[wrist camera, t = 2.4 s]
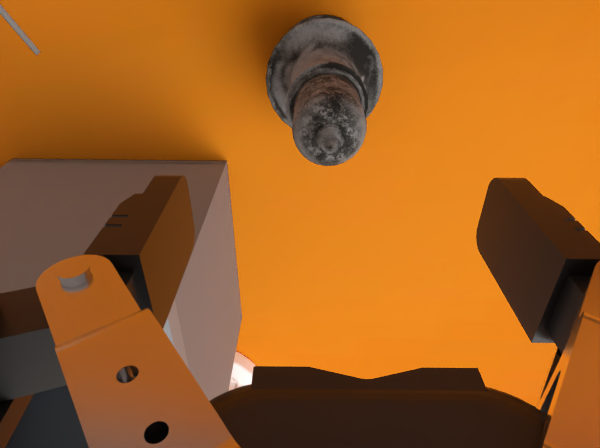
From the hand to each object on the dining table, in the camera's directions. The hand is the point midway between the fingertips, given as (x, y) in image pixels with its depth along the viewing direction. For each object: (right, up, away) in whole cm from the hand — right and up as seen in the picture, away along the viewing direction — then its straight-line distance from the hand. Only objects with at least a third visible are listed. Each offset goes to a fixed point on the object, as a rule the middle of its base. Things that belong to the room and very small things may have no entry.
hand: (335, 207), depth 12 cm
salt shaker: (0, +9, +13) cm, 16 cm away
